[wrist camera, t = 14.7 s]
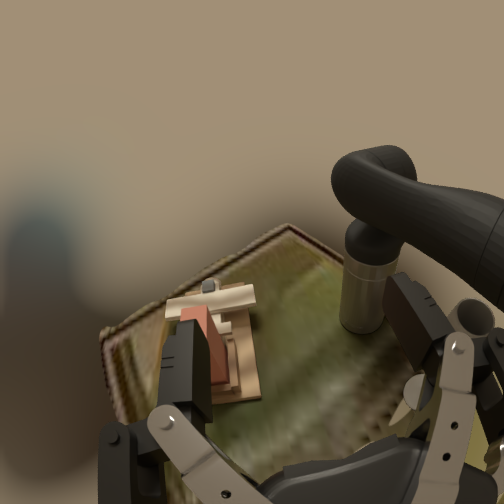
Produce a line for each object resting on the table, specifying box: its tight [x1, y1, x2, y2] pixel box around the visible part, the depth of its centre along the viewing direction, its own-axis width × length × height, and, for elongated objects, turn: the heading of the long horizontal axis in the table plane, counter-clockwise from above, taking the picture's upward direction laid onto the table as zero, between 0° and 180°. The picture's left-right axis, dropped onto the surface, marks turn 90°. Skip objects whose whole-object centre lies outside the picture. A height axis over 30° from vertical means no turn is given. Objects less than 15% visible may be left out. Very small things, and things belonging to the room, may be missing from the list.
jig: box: [165, 278, 262, 405], centre depth 51 cm, size 28×18×7 cm, turn 6°
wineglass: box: [403, 298, 495, 410], centre depth 29 cm, size 8×8×21 cm
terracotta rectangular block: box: [180, 305, 230, 386], centre depth 42 cm, size 7×4×14 cm, turn 6°
